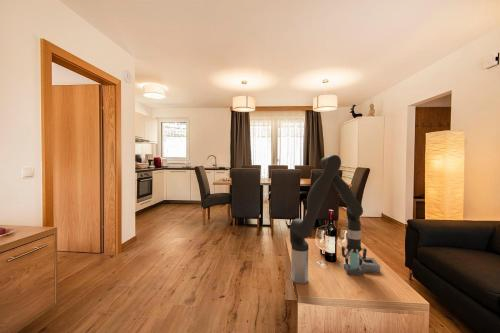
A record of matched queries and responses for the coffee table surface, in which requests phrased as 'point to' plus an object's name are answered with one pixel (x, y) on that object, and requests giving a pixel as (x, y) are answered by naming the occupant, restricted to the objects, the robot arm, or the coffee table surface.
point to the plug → (354, 261)
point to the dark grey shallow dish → (352, 271)
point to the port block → (370, 265)
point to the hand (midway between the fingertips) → (353, 264)
